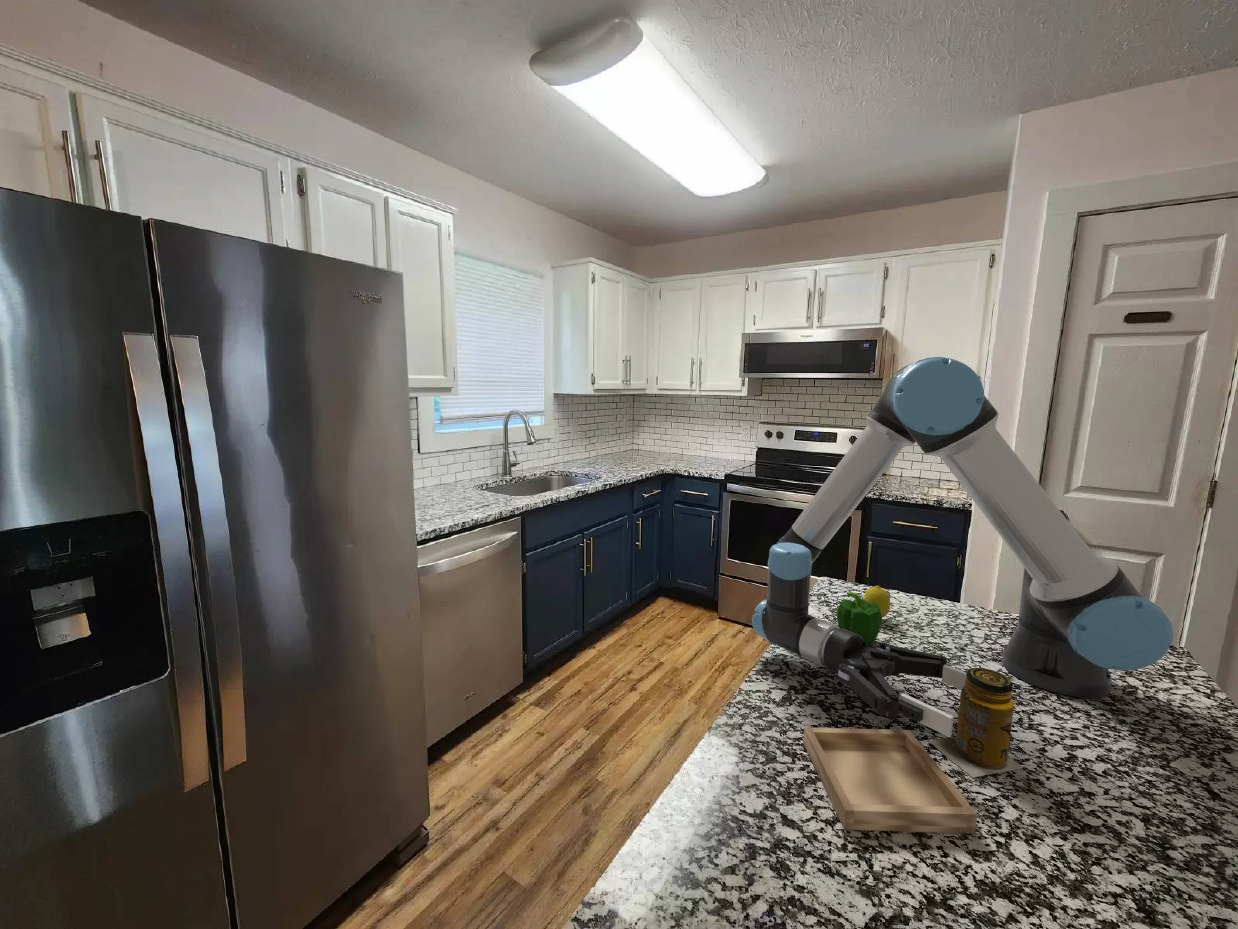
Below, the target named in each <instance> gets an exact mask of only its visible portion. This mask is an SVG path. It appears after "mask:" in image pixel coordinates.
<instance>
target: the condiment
mask: <svg viewBox="0 0 1238 929" xmlns="http://www.w3.org/2000/svg"><path fill="white" fill-rule="evenodd" d="M966 677H967V678H966V680H965V685H964V686H963V687H962V689H961V690H960V698H959V706H958V707H959V708H958V717H957V725H956V726H957V728H956V733H955V734H956V735H955V736H950V737H948V736H947V737H944V738H940V739H939V738H938V739H931V740H929V743H931V744H932V745H933V746H934V747H935V748H936V749H937V750H939V751H940V752H941V753H942V754H943V755H944V756H945V757H946V758H948V759H949V760H950V761H951V762H952V764H953V763H954V764H955V765H956V766H958V767H959V768H960V769H961V770H962V771H963V772H965V773H967V775H969V776H970V777H972V778H974V779H975V778H977V777H983V776H985V775H986V776H987V775H993V774H1000V773H1005V772H1009V771H1011V772H1012V771H1016V770H1020V769H1024V766H1023V765H1021V764H1020V763H1018V762H1017V761H1015V760H1014V759H1013V758H1011V757H1009V750H1010V741H1011V733H1012V726H1013V724H1012V723H1013V718H1014V717H1013V716H1014V707H1015V704H1014V700H1013V699H1012V698H1013V688H1014V684H1013V682H1012V680H1011V679H1009V677H1007V676H1006V675H1004V674H1003V673H1001V672H999V671H995V670H994V669H989V668H984V667H972V668H969V669H968V670H967V671H966Z"/></svg>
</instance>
